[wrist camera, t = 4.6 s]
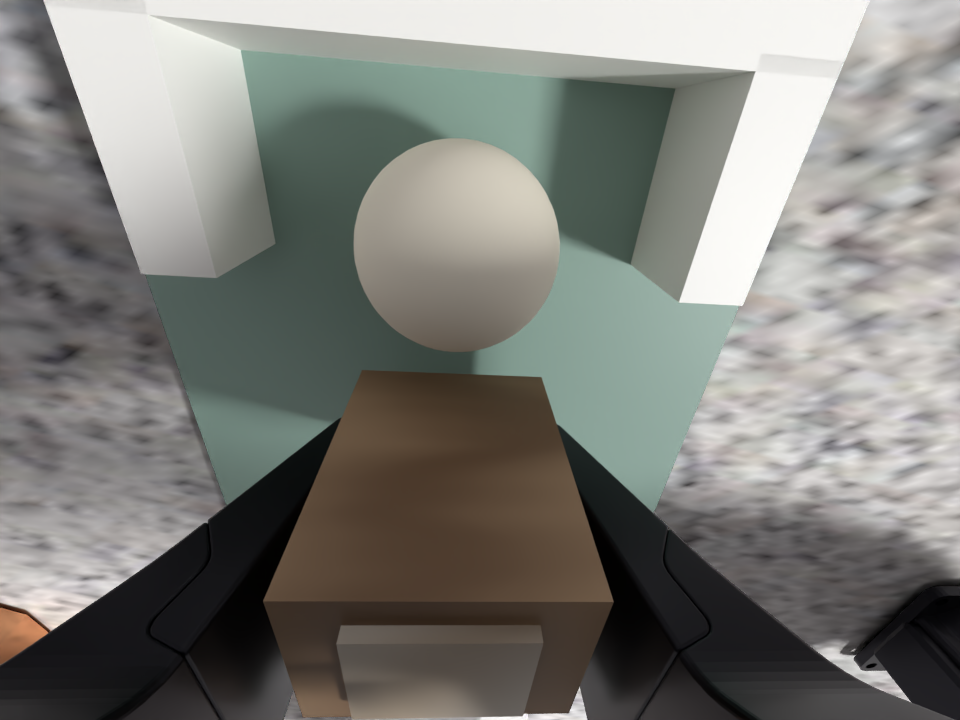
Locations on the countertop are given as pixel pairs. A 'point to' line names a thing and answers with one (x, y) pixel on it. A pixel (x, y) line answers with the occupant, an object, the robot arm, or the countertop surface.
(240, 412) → the board
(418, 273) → the ball
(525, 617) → the block
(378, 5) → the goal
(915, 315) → the countertop surface
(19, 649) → the whiskey bottle
